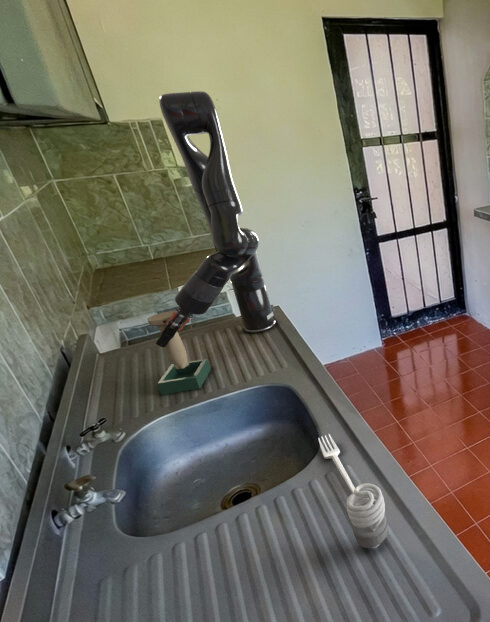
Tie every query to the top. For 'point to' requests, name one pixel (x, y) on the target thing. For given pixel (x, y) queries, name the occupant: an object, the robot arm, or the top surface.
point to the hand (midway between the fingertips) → (163, 341)
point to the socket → (184, 377)
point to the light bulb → (368, 515)
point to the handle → (175, 344)
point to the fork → (335, 459)
